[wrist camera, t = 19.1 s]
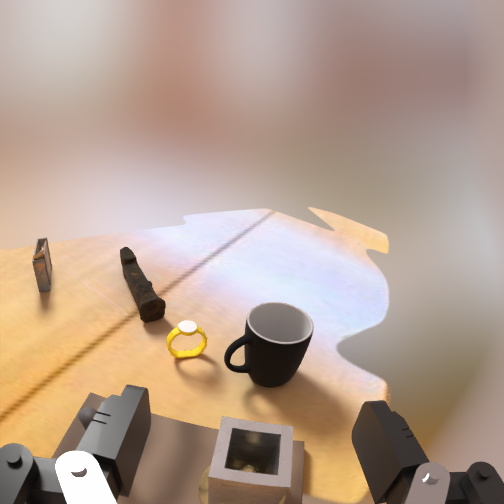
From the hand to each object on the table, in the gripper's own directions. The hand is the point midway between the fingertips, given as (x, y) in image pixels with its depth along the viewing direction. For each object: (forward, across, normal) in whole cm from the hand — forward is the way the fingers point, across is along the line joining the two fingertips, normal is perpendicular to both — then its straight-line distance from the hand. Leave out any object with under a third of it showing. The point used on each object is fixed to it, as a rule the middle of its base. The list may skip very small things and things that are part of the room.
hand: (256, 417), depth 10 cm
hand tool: (+48, +21, +16) cm, 55 cm away
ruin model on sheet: (+47, +44, +16) cm, 66 cm away
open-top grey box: (+10, -1, +21) cm, 23 cm away
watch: (+32, +8, +19) cm, 38 cm away
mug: (+30, -4, +20) cm, 36 cm away
